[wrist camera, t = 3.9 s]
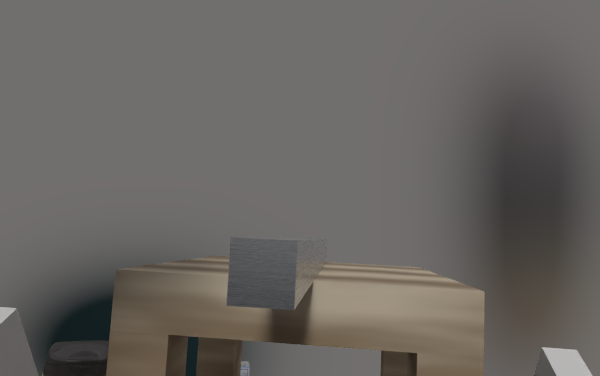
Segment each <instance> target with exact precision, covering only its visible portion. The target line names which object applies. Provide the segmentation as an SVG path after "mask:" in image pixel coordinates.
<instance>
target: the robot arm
mask: <svg viewBox="0 0 600 376" xmlns="http://www.w3.org/2000/svg"><path fill="white" fill-rule="evenodd" d="M0 376H38V373H37V370H36V367H35V364H34V360H33V357H32V354H31V351H30V348H29V345H28V342H27V339H26V335H25V332H24V329H23V326H22V323H21V320H20V317H19V314H18V310H17V308H6V307H0ZM534 376H592V374H591V373H590V371H589V369H588V368H587V366H586V364H585V363H584V361H583V360H582V358H581V356H580V355H579V353H578V352H577V350H569V349H556V348H543V347H542V349H541V353H540V356H539V360H538V363H537V367H536V371H535V374H534Z"/></svg>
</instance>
